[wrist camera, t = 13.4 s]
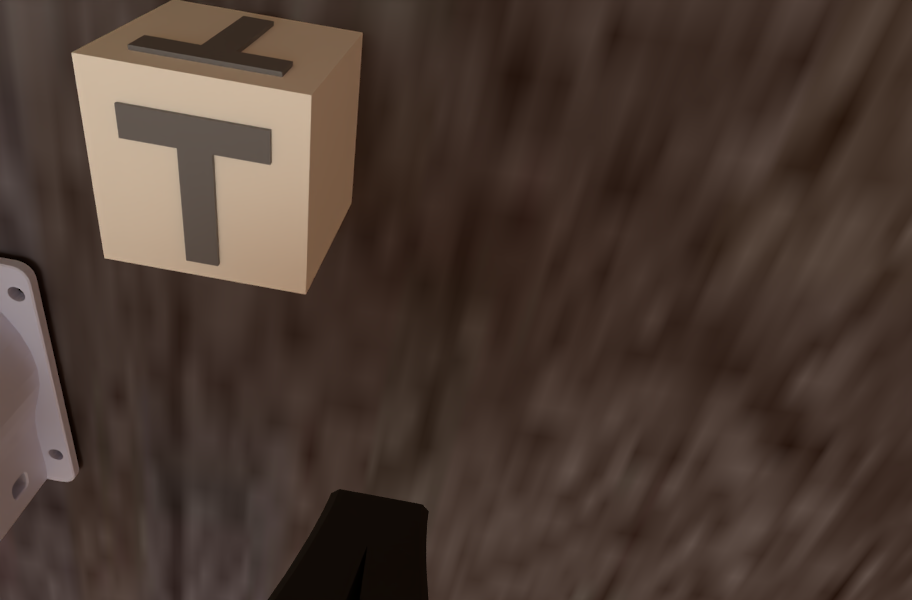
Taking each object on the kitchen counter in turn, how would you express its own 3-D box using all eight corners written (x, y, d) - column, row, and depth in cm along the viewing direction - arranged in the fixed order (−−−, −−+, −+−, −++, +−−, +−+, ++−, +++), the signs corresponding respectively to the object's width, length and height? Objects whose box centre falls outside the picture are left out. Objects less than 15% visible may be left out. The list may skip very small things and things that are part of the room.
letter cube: (352, 202, 20) (304, 297, 16) (188, 172, 20) (101, 260, 16) (363, 27, 17) (310, 91, 13) (175, -7, 17) (67, 48, 13)
